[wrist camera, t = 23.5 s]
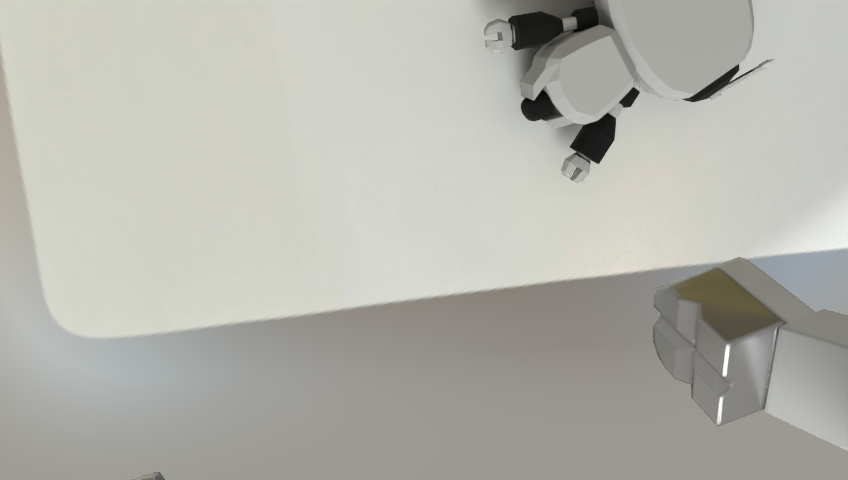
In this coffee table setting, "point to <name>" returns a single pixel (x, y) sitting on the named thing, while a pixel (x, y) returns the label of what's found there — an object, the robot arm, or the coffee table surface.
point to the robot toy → (624, 61)
